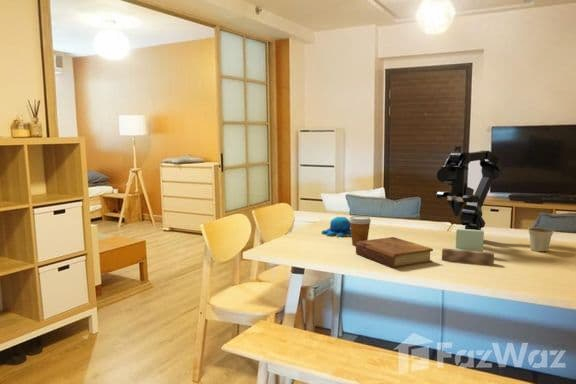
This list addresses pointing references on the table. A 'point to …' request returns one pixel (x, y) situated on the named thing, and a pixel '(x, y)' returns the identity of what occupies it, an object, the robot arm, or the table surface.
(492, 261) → the board
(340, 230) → the plush toy
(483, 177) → the robot arm
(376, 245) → the diary
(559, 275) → the table surface
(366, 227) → the disposable coffee cup
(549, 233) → the flower pot
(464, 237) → the bookend
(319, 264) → the table surface
